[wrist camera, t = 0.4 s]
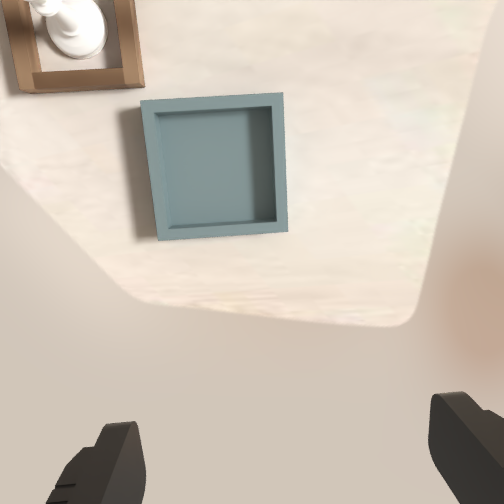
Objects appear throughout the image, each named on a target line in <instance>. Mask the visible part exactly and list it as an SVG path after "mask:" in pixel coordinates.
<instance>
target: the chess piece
mask: <svg viewBox="0 0 504 504" xmlns="http://www.w3.org/2000/svg"><path fill="white" fill-rule="evenodd" d="M24 1H27V2H31V5H32V6H33V8H34V9H35V11H36V12H37V13H39V14H40V15H43V16H46V26H47V31H48V33H49V36H50V38H51V39H52V41H53V42H54V44H55V45H56V46H57V47H58V48H59V49H60V50H61V51H62V52H63V53H65V54H66V55H68V56H70V57H73V58H76V59H87V58H91V57H93V56H95V55H96V54H98V53H99V52H100V51H101V50H102V48H103V47H104V45H105V43H106V40H107V35H108V27H107V22H106V18H105V16H104V14H103V12H102V10H101V9H100V8H99V6H98V5H97V4H96V3H95V2H94V1H92V0H24Z"/></svg>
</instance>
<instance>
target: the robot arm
mask: <svg viewBox="0 0 504 504" xmlns="http://www.w3.org/2000/svg"><path fill="white" fill-rule="evenodd" d="M428 445H429V449H430V454H431V457H432V460H433V462H434V464H435V466H436V467H437V469H438V471H439V472H440V474H441V475H442V477H443V478H444V480H445V481H446V483H447V484H448V486H449V488H450V489H451V490H452V492H453V494H454V495H455V497H456V498H457V500H458V501H459V503H460V504H504V418H502V417H500V416H499V415H497V414H495V413H494V412H492V411H490V410H482V409H481V408H480V407H479V405H478V404H477V403H476V402H475V401H474V400H473V399H472V398H471V397H470V396H469V395H468V394H466V393H465V392H451V393H440V394H434V395H433V396H432V399H431V407H430V421H429V435H428ZM145 484H146V468H145V462H144V456H143V451H142V446H141V440H140V435H139V430H138V425H137V423H136V422H135V421H132V422H121V423H111V424H106V425H105V426H104V427H103V429H102V431H101V433H100V435H99V437H98V439H97V442H96V444H95V446H94V447H85V448H83V449H82V450H81V451H80V452H79V453H78V454H77V455H76V456H75V457H74V458H73V459H72V460H71V461H70V462H69V463H68V464H67V465H66V466H65V468H64V470H63V472H62V474H61V476H60V477H59V480H58V481H57V483H56V485H55V489H54V490H52V492H51V494H50V496H49V498H48V500H47V502H46V504H142V500H143V496H144V491H145Z"/></svg>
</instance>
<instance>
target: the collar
mask: <svg viewBox="0 0 504 504" xmlns="http://www.w3.org/2000/svg"><path fill="white" fill-rule="evenodd" d="M1 1H2V6H3V11H4V16H5V21H6V26H7V31H8V36H9V41H10V45H11V50H12V55H13V60H14V65H15V70H16V75H17V80H18V84H19V89H20V90H22V91H25V92H28V93H31V94H35V93H53V92H70V91H88V90H106V89H124V88H142V87H145V83H144V75H143V67H142V59H141V50H140V42H139V34H138V26H137V18H136V10H135V2H134V0H114V7H115V14H116V21H117V29H118V36H119V43H120V50H121V58H122V65H123V68H109V69H90V70H72V71H53V72H42V71H41V65H40V60H39V55H38V50H37V44H36V39H35V34H34V28H33V23H32V18H31V12H30V7H29V2H27V1H24V0H1Z"/></svg>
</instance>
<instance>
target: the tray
mask: <svg viewBox="0 0 504 504" xmlns="http://www.w3.org/2000/svg"><path fill="white" fill-rule="evenodd" d="M140 104H141V112H142V120H143V127H144V135H145V143H146V151H147V158H148V166H149V174H150V182H151V190H152V197H153V205H154V213H155V221H156V228H157V236H158V241H163V240H177V239H191V238H206V237H220V236H234V235H249V234H263V233H278V232H288V213H287V185H286V158H285V131H284V103H283V92H282V93H264V94H247V95H229V96H212V97H194V98H176V99H159V100H141V101H140Z"/></svg>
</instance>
